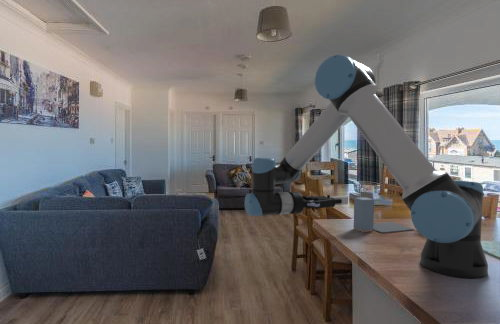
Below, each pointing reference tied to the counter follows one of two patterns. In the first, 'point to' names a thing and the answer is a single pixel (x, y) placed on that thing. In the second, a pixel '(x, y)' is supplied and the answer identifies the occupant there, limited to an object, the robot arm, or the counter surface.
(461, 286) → the counter surface
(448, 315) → the counter surface
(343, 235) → the counter surface
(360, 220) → the slate block
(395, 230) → the mat
